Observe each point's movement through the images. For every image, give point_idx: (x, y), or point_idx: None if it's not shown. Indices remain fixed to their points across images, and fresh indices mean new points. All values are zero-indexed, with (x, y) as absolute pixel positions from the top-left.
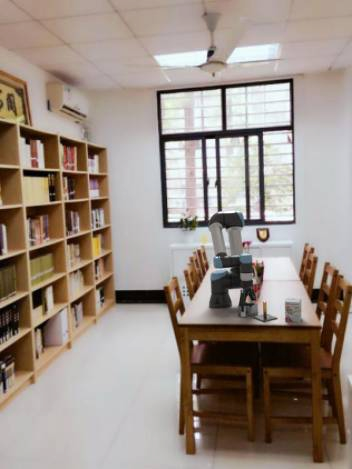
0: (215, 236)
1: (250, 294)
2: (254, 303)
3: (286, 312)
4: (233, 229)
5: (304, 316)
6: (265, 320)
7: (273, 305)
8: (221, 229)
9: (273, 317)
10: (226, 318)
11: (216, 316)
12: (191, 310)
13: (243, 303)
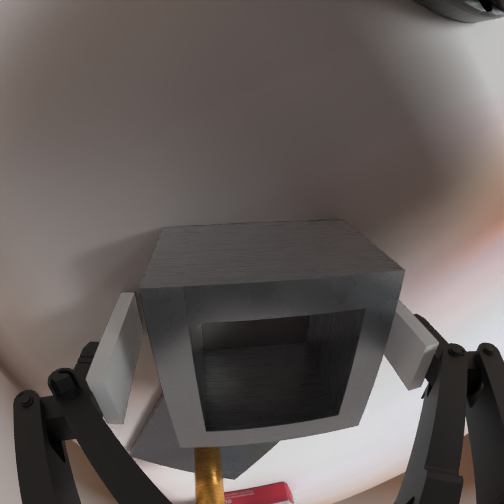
0: None
1: (406, 483)
2: (350, 409)
3: None
4: None
5: (321, 497)
6: (145, 459)
7: (500, 332)
8: None
9: (224, 471)
10: (8, 179)
11: (22, 42)
12: None
13: (66, 457)
